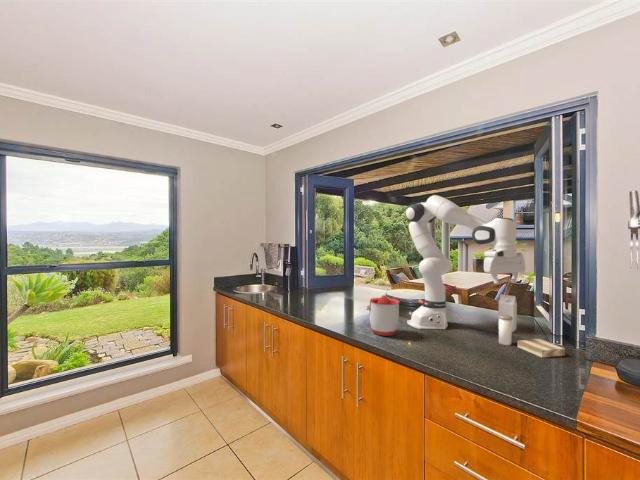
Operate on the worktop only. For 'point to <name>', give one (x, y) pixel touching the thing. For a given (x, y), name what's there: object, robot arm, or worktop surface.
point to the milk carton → (508, 308)
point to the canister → (505, 329)
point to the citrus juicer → (384, 315)
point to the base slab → (541, 348)
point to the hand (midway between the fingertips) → (504, 283)
